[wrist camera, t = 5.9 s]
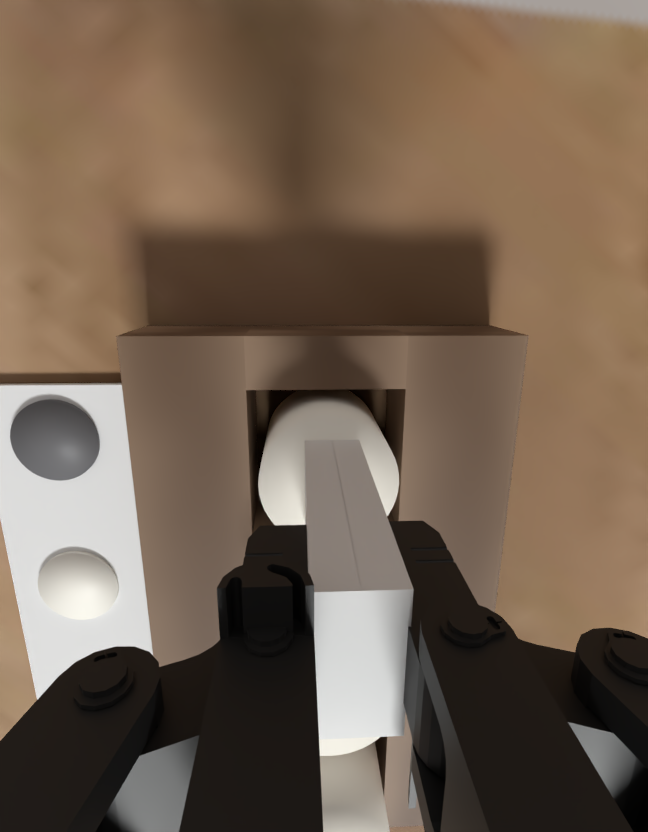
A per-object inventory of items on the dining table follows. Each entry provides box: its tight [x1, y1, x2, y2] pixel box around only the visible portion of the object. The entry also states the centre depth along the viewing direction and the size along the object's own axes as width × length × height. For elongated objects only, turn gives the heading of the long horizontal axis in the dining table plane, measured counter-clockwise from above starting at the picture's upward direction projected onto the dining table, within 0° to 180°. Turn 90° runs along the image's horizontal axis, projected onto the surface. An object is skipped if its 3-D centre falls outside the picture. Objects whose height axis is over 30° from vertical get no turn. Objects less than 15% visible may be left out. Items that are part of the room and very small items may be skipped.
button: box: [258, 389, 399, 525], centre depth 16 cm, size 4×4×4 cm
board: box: [116, 326, 528, 827], centre depth 18 cm, size 12×20×3 cm, turn 0°
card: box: [0, 383, 153, 700], centre depth 19 cm, size 5×16×1 cm, turn 0°
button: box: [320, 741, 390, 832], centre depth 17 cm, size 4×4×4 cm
